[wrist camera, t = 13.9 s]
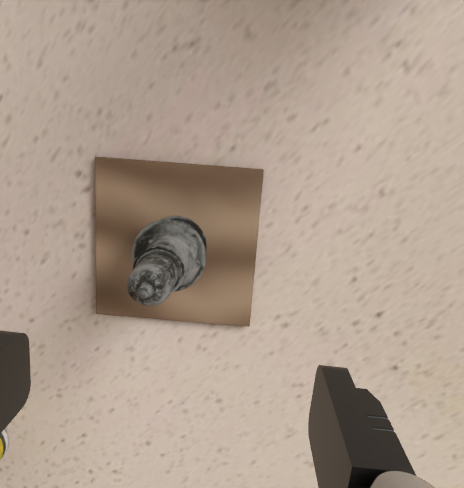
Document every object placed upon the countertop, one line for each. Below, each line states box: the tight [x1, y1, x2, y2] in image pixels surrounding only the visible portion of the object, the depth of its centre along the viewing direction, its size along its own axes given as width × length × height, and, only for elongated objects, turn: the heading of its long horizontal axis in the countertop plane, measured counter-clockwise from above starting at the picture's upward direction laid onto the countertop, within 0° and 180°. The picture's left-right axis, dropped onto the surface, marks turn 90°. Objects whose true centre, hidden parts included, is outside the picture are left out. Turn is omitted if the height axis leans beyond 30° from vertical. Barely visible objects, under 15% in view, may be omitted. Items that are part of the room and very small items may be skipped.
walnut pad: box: [95, 157, 263, 326], centre depth 36 cm, size 14×14×1 cm
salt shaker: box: [127, 216, 207, 306], centre depth 30 cm, size 6×6×12 cm
